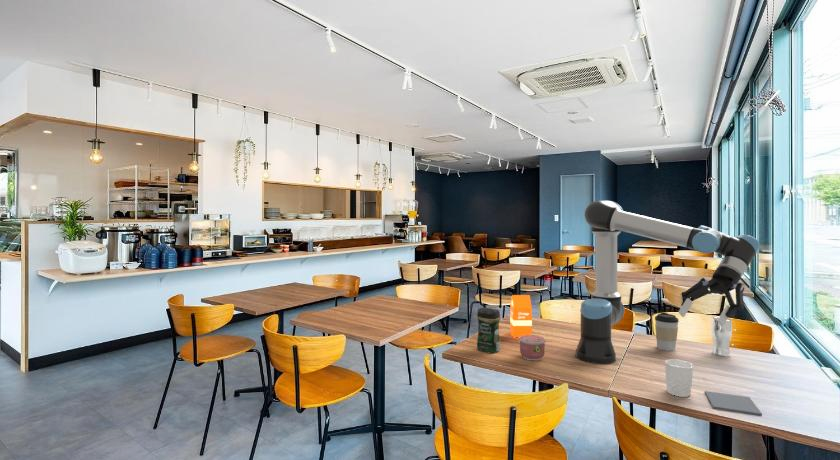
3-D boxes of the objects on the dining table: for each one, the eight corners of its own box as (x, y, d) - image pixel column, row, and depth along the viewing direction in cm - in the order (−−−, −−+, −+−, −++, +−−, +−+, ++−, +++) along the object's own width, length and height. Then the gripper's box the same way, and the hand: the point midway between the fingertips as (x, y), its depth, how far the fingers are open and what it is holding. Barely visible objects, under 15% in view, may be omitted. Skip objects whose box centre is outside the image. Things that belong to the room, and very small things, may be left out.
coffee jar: (474, 350, 184) (474, 308, 184) (483, 345, 190) (483, 305, 190) (493, 355, 178) (493, 311, 177) (502, 350, 184) (502, 308, 183)
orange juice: (531, 338, 201) (532, 296, 200) (513, 338, 201) (513, 296, 201) (528, 333, 209) (528, 293, 208) (510, 333, 209) (510, 293, 208)
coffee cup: (681, 352, 179) (682, 317, 179) (658, 351, 181) (659, 316, 181) (673, 345, 188) (674, 312, 188) (651, 344, 190) (651, 311, 189)
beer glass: (725, 358, 172) (726, 321, 171) (707, 353, 178) (708, 318, 177) (734, 355, 175) (735, 319, 175) (716, 350, 181) (717, 315, 181)
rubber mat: (713, 408, 129) (713, 406, 129) (704, 392, 140) (704, 390, 140) (761, 415, 124) (761, 413, 124) (749, 398, 135) (749, 397, 135)
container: (516, 359, 173) (516, 340, 172) (522, 352, 182) (522, 333, 182) (542, 363, 168) (542, 343, 167) (547, 355, 177) (547, 336, 177)
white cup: (659, 388, 144) (659, 359, 143) (681, 387, 144) (681, 358, 144) (675, 398, 136) (675, 368, 135) (698, 397, 136) (699, 367, 136)
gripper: (774, 284, 139) (743, 334, 134) (699, 274, 162) (671, 317, 157) (763, 269, 137) (732, 320, 132) (690, 261, 160) (661, 304, 155)
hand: (699, 318), depth 145 cm, fingers open, 13 cm apart
